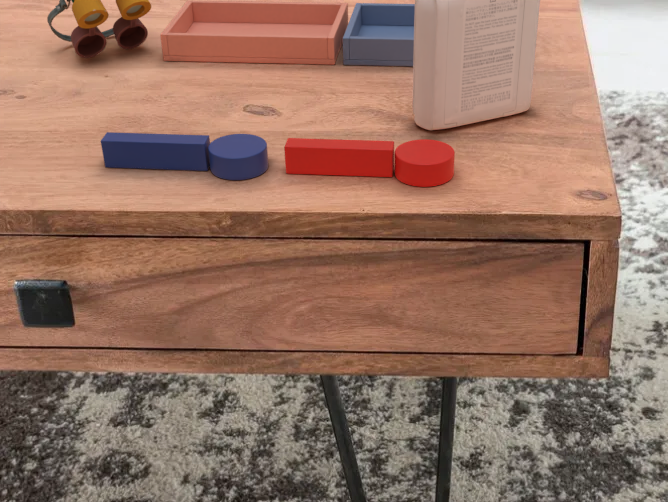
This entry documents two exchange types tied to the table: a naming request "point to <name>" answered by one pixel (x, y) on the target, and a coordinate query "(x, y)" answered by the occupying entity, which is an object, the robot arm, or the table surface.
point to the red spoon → (372, 159)
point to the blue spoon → (188, 153)
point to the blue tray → (380, 35)
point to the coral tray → (256, 32)
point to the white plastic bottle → (472, 60)
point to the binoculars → (93, 14)
